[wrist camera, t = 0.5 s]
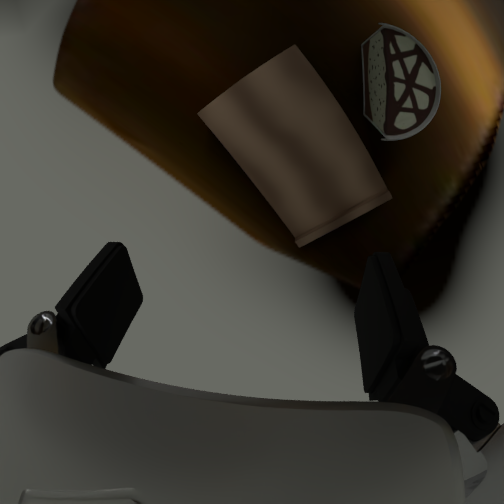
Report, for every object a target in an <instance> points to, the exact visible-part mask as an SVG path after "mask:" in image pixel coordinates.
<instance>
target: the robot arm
mask: <svg viewBox="0 0 504 504" xmlns="http://www.w3.org/2000/svg"><path fill="white" fill-rule="evenodd" d="M142 302H143V295H142V292H141V289H140V286H139V283H138V281H137V278H136V275H135V272H134V269H133V266H132V263H131V260H130V257H129V254H128V251H127V248H126V247H125V246H124V245H123V244H122V243H121V242H108V243H107V244H106V245H105V246H104V247H103V248H102V250H101V251H100V252H99V253H98V254H97V255H96V256H95V258H94V259H93V260H92V261H91V262H90V263H89V265H88V266H87V267H86V268H85V269H84V271H83V272H82V273H81V274H80V275H79V277H78V278H77V279H76V280H75V282H74V283H73V284H72V285H71V287H70V288H69V290H68V291H67V292H66V293H65V294H64V296H63V297H62V298H61V300H60V301H59V302H58V304H57V305H56V306H55V309H56V310H57V312H58V314H57V315H56V316H55V314H54V313H53V312H51V311H44V312H41V313H39V314H37V315H36V316H35V317H33V319H32V320H31V321H30V323H29V325H28V329H27V334H26V335H24V336H22V337H20V338H18V339H16V340H14V341H12V342H9V343H7V344H5V345H4V346H2V347H0V504H504V424H502V425H500V424H499V423H498V422H499V411H498V407H497V406H496V404H495V402H494V401H493V400H492V399H491V398H489V397H488V396H486V395H485V394H483V393H482V392H481V391H479V390H478V389H476V388H475V387H473V386H472V385H471V384H469V383H468V382H466V381H465V380H463V379H462V378H461V377H459V376H458V375H456V370H457V368H456V362H455V359H454V357H453V356H452V354H451V353H450V352H449V351H447V350H446V349H445V348H443V347H440V346H435V345H432V346H429V344H428V341H427V338H426V335H425V331H424V328H423V326H422V323H421V320H420V317H419V314H418V311H417V309H416V306H415V303H414V301H413V298H412V295H411V293H410V291H409V290H408V289H404V286H403V284H402V282H401V279H400V276H399V274H398V271H397V269H396V266H395V264H394V262H393V259H392V257H391V255H390V253H387V252H374V253H373V256H369V257H368V259H367V264H366V268H365V272H364V276H363V280H362V284H361V288H360V292H359V296H358V300H357V304H356V307H355V312H354V313H355V314H354V317H355V324H356V331H357V337H358V344H359V352H360V359H361V367H362V376H363V386H364V391H365V393H369V400H370V401H371V400H372V401H373V400H378V402H356V401H349V402H345V401H343V402H341V401H340V402H338V401H337V402H336V401H300V400H298V401H297V400H280V399H266V398H265V399H264V398H255V397H245V396H236V395H228V394H221V393H213V392H206V391H200V390H194V389H188V388H183V387H178V386H172V385H167V384H162V383H158V382H153V381H149V380H145V379H140V378H136V377H132V376H128V375H124V374H120V373H117V372H113V371H109V370H106V369H105V368H106V366H107V364H108V363H110V362H111V361H112V359H113V357H114V355H115V353H116V351H117V349H118V347H119V345H120V343H121V341H122V339H123V337H124V335H125V333H126V332H127V330H128V328H129V326H130V324H131V322H132V320H133V318H134V317H135V315H136V313H137V311H138V309H139V308H140V306H141V304H142Z"/></svg>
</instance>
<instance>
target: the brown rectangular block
mask: <svg viewBox="0 0 504 504" xmlns="http://www.w3.org/2000/svg"><path fill="white" fill-rule="evenodd" d="M197 114H198V115H199V116H200V118H201V119H202V120H203V121H204V122H205V124H206V125H207V126H208V127H209V128H210V130H211V131H212V132H213V133H214V134H215V136H216V137H217V138H218V139H219V141H220V142H221V143H222V144H223V145H224V147H225V148H226V149H227V150H228V152H229V153H230V154H231V155H232V157H233V158H234V159H235V160H236V162H237V163H238V164H239V165H240V167H241V168H242V169H243V170H244V172H245V173H246V174H247V175H248V177H249V178H250V179H251V180H252V182H253V183H254V184H255V186H256V187H257V188H258V189H259V191H260V192H261V193H262V195H263V196H264V197H265V199H266V200H267V201H268V202H269V204H270V205H271V206H272V208H273V209H274V210H275V212H276V213H277V214H278V216H279V217H280V218H281V220H282V221H283V222H284V223H285V225H286V226H287V227H288V229H289V230H290V232H291V233H292V234H293V236H294V237H295V243H296V244H297V245H298V247H299V248H300V247H302V246H304V245H306V244H308V243H309V242H311V241H313V240H315V239H317V238H319V237H321V236H323V235H325V234H327V233H328V232H330V231H332V230H334V229H336V228H338V227H340V226H342V225H344V224H345V223H347V222H349V221H351V220H353V219H355V218H357V217H359V216H360V215H362V214H364V213H366V212H368V211H370V210H372V209H373V208H375V207H377V206H379V205H381V204H383V203H385V202H386V201H388V200H390V199H392V196H391V194H390V192H389V190H388V189H387V187H386V185H385V183H384V181H383V179H382V177H381V175H380V174H379V172H378V170H377V168H376V166H375V164H374V162H373V160H372V158H371V157H370V155H369V153H368V151H367V149H366V148H365V146H364V144H363V142H362V141H361V139H360V137H359V136H358V134H357V132H356V131H355V129H354V127H353V126H352V124H351V122H350V121H349V119H348V118H347V116H346V114H345V113H344V111H343V110H342V108H341V107H340V105H339V104H338V102H337V101H336V99H335V98H334V96H333V95H332V93H331V92H330V90H329V89H328V87H327V86H326V85H325V83H324V82H323V80H322V79H321V78H320V76H319V75H318V73H317V72H316V71H315V69H314V68H313V67H312V65H311V64H310V63H309V61H308V60H307V59H306V58H305V56H304V55H303V54H302V53H301V51H300V50H299V49H298V48H297V46H296V45H293V46H291V47H290V48H288V49H286V50H285V51H283V52H282V53H280V54H278V55H277V56H275V57H274V58H272V59H271V60H269V61H268V62H266V63H264V64H263V65H261V66H260V67H258V68H257V69H256V70H254V71H253V72H251V73H250V74H248V75H247V76H245V77H244V78H243V79H241V80H240V81H238V82H237V83H236V84H234V85H233V86H232V87H230V88H229V89H228V90H226V91H225V92H224V93H222V94H221V95H220V96H218V97H217V98H216V99H215V100H213V101H212V102H211V103H210V104H208V105H207V106H206V107H205V108H203V109H202V110H201V111H200V112H198V113H197Z"/></svg>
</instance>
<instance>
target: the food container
mask: <svg viewBox="0 0 504 504" xmlns="http://www.w3.org/2000/svg"><path fill="white" fill-rule="evenodd" d="M378 24H380V25H383V26H382V27H380V28H379V29H378V30H377V31H376V32H375V33H373V34H372V35H371V36H370V37H369V38H368V39H367V40H366V41H364V42H363V43H362V44H361V51H362V68H363V115H364V116H365V117H366V118H367V119H368V120H369V121H370V122H371V123H372V124H373V125H374V126H375V127H376V128H377V129H378V130H379V132H380V133H381V134H382V135H383V136H384V137H385V139H381V140H385V141H394V140H401V139H405V138H408V137H411V136H413V135H415V134H417V133H418V132H420V131H421V130H422V129H423V128H425V127H426V126H427V125H428V124H429V123H430V121H431V120H432V118H433V117H434V115H435V113H436V111H437V109H438V106H439V102H440V97H441V81H440V77H439V72H438V70H437V67H436V64H435V62H434V60H433V59H432V57H431V55H430V54H429V52H428V51H427V50H426V48H425V47H424V46H423V45H422V44H421V43H420V42H419V41H418V40H417V39H416V38H414V37H413V36H412V35H411V34H409V33H407V32H406V31H404V30H402V29H400V28H398V27H395V26H393V25H389V24H385V23H378Z"/></svg>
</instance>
